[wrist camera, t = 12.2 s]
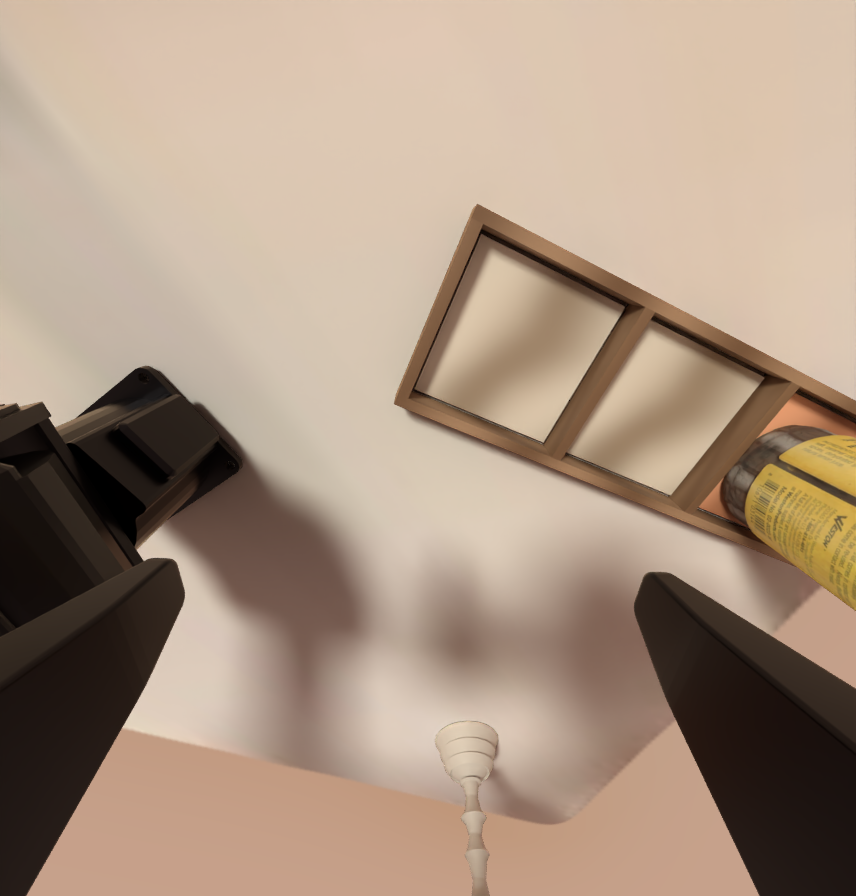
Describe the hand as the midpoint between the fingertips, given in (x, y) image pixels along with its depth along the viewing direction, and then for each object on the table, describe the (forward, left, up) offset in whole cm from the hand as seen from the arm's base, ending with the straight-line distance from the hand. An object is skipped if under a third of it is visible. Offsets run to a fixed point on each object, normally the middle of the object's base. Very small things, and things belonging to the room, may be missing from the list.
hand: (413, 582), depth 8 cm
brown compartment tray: (+9, -8, -13) cm, 18 cm away
